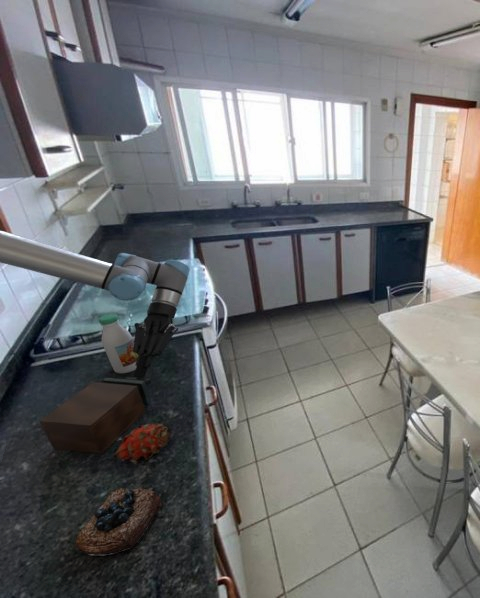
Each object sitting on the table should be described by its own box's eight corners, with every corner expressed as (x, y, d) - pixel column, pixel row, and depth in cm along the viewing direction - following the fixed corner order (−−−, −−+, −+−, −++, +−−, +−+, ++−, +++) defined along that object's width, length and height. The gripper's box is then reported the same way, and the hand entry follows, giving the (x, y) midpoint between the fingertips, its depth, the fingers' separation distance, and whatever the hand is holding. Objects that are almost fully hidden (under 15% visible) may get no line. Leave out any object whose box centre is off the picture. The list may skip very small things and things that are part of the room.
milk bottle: (115, 377, 108) (91, 325, 99) (114, 365, 114) (91, 315, 105) (143, 368, 113) (123, 318, 104) (141, 357, 118) (122, 308, 109)
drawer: (125, 389, 102) (118, 368, 99) (161, 392, 102) (155, 371, 99) (70, 433, 86) (60, 411, 83) (113, 437, 86) (104, 415, 83)
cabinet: (103, 408, 96) (93, 381, 92) (146, 411, 96) (137, 385, 92) (53, 449, 83) (38, 420, 79) (102, 453, 83) (90, 425, 79)
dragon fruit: (181, 444, 88) (128, 474, 82) (168, 417, 90) (115, 444, 84) (173, 441, 81) (114, 473, 75) (159, 411, 83) (100, 440, 77)
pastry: (168, 496, 74) (161, 479, 71) (131, 557, 63) (120, 540, 60) (118, 496, 73) (108, 479, 70) (71, 558, 62) (58, 541, 60)
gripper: (190, 310, 112) (167, 380, 103) (152, 307, 112) (126, 377, 104) (176, 302, 105) (151, 377, 96) (136, 299, 105) (107, 374, 97)
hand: (138, 377), depth 100 cm, fingers closed
